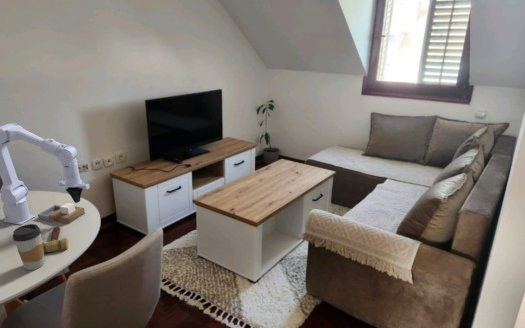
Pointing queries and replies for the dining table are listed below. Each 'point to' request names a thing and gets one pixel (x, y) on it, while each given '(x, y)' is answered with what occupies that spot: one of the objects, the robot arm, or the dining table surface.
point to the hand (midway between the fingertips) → (77, 201)
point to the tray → (48, 212)
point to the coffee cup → (30, 246)
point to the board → (66, 215)
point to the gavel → (55, 242)
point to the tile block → (67, 208)
